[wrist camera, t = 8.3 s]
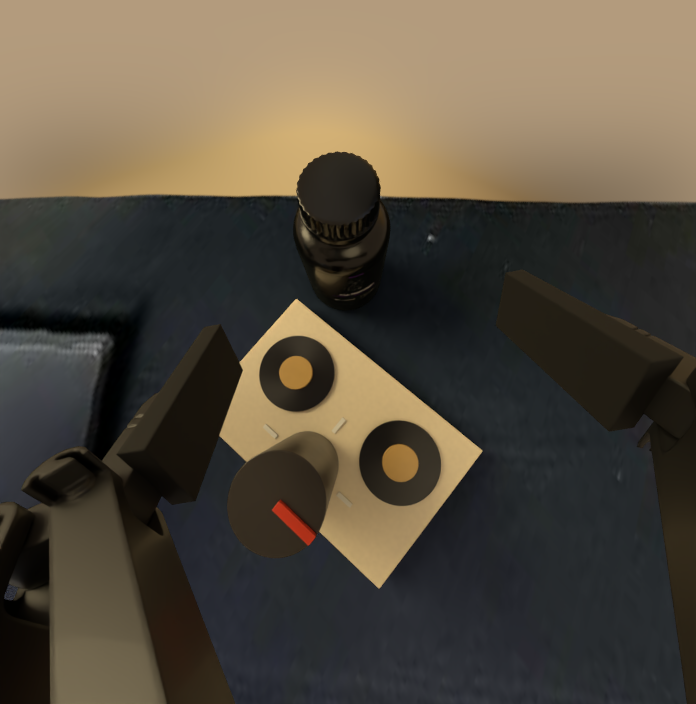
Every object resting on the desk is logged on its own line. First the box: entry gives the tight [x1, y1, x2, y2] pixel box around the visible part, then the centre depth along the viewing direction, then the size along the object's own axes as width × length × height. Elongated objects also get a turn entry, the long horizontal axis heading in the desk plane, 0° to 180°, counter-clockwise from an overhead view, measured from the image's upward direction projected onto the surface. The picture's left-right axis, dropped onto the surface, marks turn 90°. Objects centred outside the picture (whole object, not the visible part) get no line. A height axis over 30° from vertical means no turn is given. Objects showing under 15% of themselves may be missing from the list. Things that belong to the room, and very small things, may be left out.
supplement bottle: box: [293, 152, 390, 310], centre depth 21 cm, size 7×7×12 cm
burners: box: [259, 336, 441, 506], centre depth 22 cm, size 17×6×1 cm, turn 50°
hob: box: [219, 299, 482, 589], centre depth 23 cm, size 20×15×3 cm
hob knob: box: [227, 431, 339, 558], centre depth 18 cm, size 5×5×8 cm
